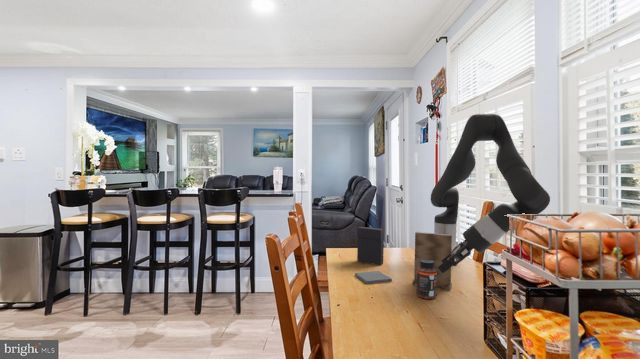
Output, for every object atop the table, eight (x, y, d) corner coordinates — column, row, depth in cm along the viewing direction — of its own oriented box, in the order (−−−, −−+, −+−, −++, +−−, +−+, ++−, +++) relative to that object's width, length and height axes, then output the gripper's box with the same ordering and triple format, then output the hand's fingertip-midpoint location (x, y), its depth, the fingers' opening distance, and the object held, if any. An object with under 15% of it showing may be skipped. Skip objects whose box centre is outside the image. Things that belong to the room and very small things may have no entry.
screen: (412, 284, 119) (413, 233, 118) (415, 280, 123) (416, 231, 123) (450, 290, 113) (451, 236, 113) (451, 286, 118) (453, 234, 117)
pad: (378, 273, 131) (378, 270, 131) (391, 281, 122) (391, 278, 122) (354, 275, 128) (354, 273, 128) (366, 284, 118) (366, 281, 118)
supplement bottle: (437, 300, 104) (438, 264, 104) (417, 299, 105) (418, 262, 105) (434, 294, 110) (435, 259, 109) (415, 292, 111) (416, 258, 111)
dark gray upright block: (384, 263, 145) (384, 228, 145) (380, 265, 142) (380, 230, 141) (360, 259, 151) (361, 226, 151) (356, 261, 148) (357, 227, 147)
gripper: (475, 220, 107) (436, 252, 113) (473, 227, 95) (429, 262, 100) (493, 239, 105) (453, 270, 110) (494, 248, 92) (448, 283, 98)
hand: (442, 266), depth 105 cm, fingers open, 8 cm apart
